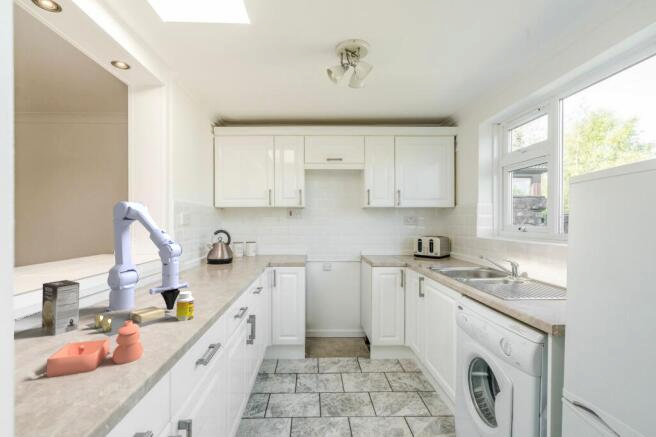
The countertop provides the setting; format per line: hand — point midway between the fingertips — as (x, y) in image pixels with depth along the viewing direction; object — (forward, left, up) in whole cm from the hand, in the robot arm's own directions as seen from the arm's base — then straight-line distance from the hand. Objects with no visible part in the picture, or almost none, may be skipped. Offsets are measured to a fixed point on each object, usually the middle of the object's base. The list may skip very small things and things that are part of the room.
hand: (170, 309), depth 112 cm
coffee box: (-11, -29, -2) cm, 32 cm away
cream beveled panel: (0, -8, -1) cm, 8 cm away
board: (-1, -13, -2) cm, 13 cm away
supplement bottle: (+12, -1, -2) cm, 12 cm away
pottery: (+23, -31, -2) cm, 38 cm away
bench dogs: (0, -22, -1) cm, 22 cm away
